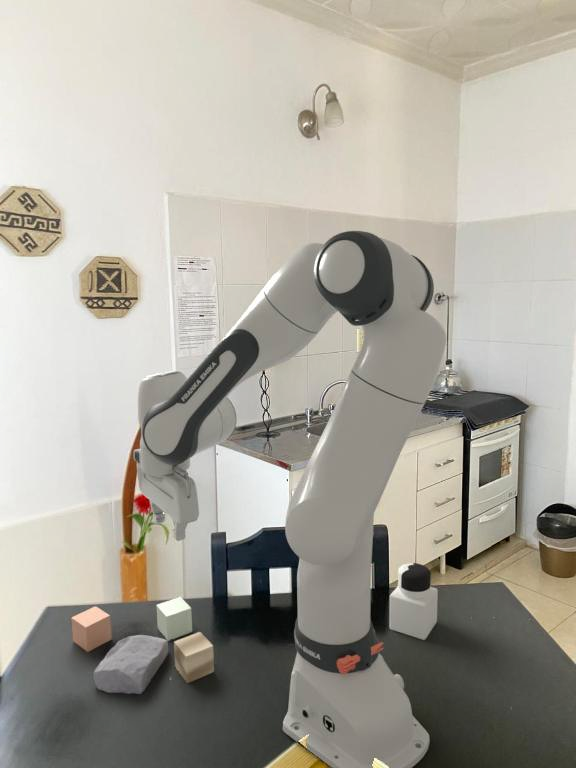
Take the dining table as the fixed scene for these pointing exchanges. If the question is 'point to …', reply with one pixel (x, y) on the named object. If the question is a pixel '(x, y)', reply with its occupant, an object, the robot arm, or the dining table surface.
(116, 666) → the stone block
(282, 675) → the dining table surface
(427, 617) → the medicine bottle
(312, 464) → the robot arm
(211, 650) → the birch cube
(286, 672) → the dining table surface
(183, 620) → the sage cube
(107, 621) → the terracotta cube
